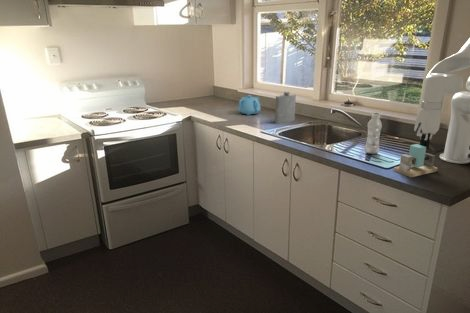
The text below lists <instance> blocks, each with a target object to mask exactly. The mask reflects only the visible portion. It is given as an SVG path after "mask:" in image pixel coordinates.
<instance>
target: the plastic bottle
mask: <svg viewBox="0 0 470 313" xmlns="http://www.w3.org/2000/svg"><path fill="white" fill-rule="evenodd" d="M380 118H381V113H380V112H372V113H371V119H370V120H369V121H368V122H367V138H366V143H365V145H364V150H365V153H366V154H369V155H376V154H378V153H379V151H380V135H381V131H382V127H383V124H382V121H381V119H380Z"/></svg>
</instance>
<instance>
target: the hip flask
mask: <svg viewBox="0 0 470 313" xmlns="http://www.w3.org/2000/svg"><path fill="white" fill-rule="evenodd" d="M296 95H297V94H295V93H294V94H290V91H283V94H282V95H276V96H275V111H274V112H275V114H274V116H275V117H274V118H275V119H274V123H275V124H285V123H286V124H287V123H292V122H294V121H295V118H296V116H295V115H296V100H297V99H296Z"/></svg>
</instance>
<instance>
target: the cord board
mask: <svg viewBox="0 0 470 313" xmlns="http://www.w3.org/2000/svg"><path fill="white" fill-rule="evenodd" d="M412 157H413V156H410V155H409V154H406V153H404V154H401V155H400V160H399V165H398V166H394V167H393V170H392V171H393V172H396V173H399V174H401V175H403V176H406V177H409V178H415V177H418V176H422V175H426V174H427V175H429V174H430V173H431V174H432V173H436V172H438V167H436V166H434V165H435V164H434V163H435V157H436V155H434V154H431V153H427V152H425V158H424V164H423V166H422V167H417V168H416V167H413V166H411V163H415V161H416V159H414V158H413V159H412Z"/></svg>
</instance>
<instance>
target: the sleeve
mask: <svg viewBox="0 0 470 313" xmlns="http://www.w3.org/2000/svg"><path fill="white" fill-rule="evenodd" d="M426 151H427V149H426V147H425V146H422V145H420V143H415V144H410V145H409V151H408V152H409V153H408V155H410V156H413V157H412V159H413V158H414V159H416V161H415V163H411V166H413V167H416V168H417V167H422V166H423V164H424V158H425V153H427V152H426Z"/></svg>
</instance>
